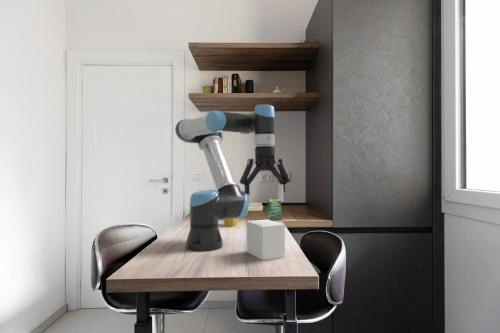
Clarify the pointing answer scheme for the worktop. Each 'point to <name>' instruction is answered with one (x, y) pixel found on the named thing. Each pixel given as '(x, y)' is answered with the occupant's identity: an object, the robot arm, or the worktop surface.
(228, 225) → the plant pot
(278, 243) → the white upright box
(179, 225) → the worktop surface
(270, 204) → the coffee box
